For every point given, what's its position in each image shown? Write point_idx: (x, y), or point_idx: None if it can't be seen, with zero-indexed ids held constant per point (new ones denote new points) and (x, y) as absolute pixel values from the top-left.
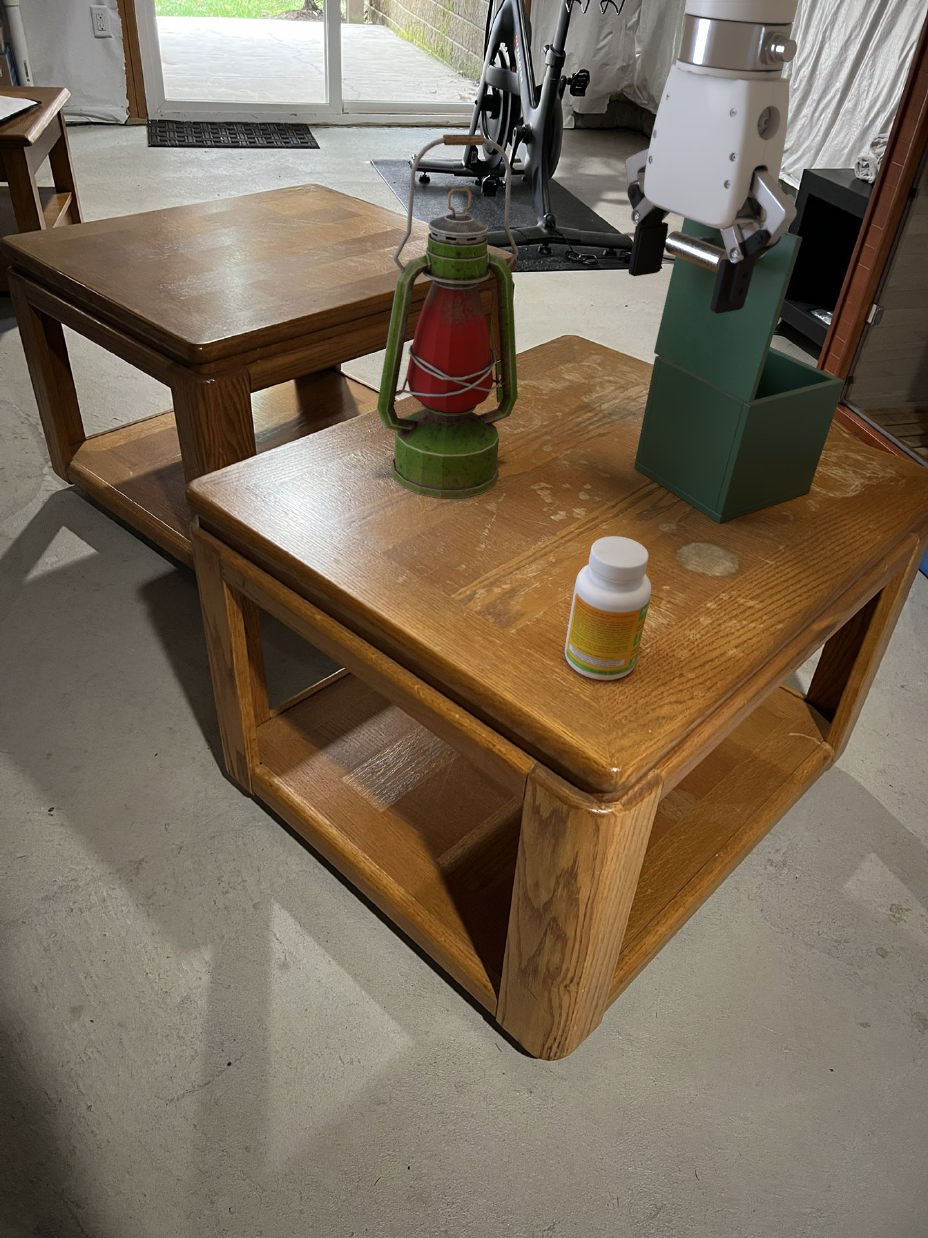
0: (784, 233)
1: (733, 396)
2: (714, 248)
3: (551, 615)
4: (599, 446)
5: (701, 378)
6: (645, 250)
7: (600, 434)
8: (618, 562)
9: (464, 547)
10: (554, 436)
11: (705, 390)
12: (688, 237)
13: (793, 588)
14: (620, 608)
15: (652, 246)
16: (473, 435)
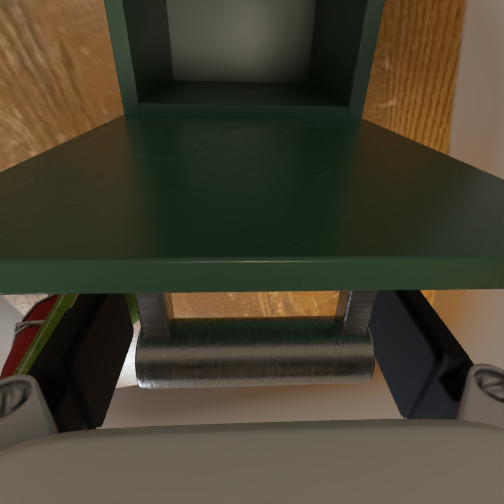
0: None
1: None
2: (329, 383)
3: (321, 298)
4: (99, 90)
5: (241, 114)
6: (114, 362)
7: (65, 62)
8: None
9: (226, 304)
10: (59, 127)
11: None
12: (212, 385)
13: (431, 119)
14: None
15: (106, 353)
16: (130, 294)
